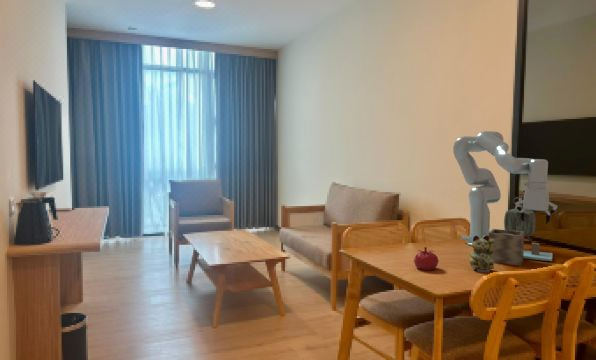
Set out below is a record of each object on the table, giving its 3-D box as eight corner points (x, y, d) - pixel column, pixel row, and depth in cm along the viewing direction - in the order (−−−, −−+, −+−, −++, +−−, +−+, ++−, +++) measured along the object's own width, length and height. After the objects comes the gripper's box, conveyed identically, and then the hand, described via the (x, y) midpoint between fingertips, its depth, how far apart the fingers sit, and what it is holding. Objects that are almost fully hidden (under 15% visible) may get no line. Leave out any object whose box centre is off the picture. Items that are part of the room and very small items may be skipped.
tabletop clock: (535, 241, 229) (536, 197, 228) (531, 244, 223) (532, 198, 221) (507, 238, 239) (508, 195, 238) (502, 241, 232) (503, 196, 231)
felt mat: (522, 258, 192) (522, 257, 192) (524, 254, 200) (524, 252, 200) (547, 261, 186) (547, 259, 186) (548, 256, 195) (548, 255, 195)
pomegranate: (443, 269, 173) (444, 248, 173) (427, 273, 168) (428, 250, 167) (424, 264, 182) (425, 243, 181) (408, 267, 176) (409, 245, 176)
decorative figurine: (473, 272, 168) (474, 236, 167) (465, 267, 176) (465, 232, 176) (497, 272, 168) (498, 236, 167) (487, 267, 176) (488, 232, 176)
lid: (517, 257, 191) (517, 244, 191) (520, 251, 202) (520, 239, 202) (551, 261, 184) (552, 247, 183) (552, 255, 195) (552, 242, 195)
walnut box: (488, 261, 186) (488, 233, 185) (492, 255, 197) (493, 228, 196) (520, 265, 179) (521, 235, 178) (523, 259, 190) (524, 231, 189)
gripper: (515, 185, 193) (513, 221, 194) (559, 187, 184) (556, 225, 185) (516, 183, 199) (514, 218, 201) (559, 186, 190) (556, 222, 191)
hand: (534, 222), depth 193 cm, fingers open, 9 cm apart
